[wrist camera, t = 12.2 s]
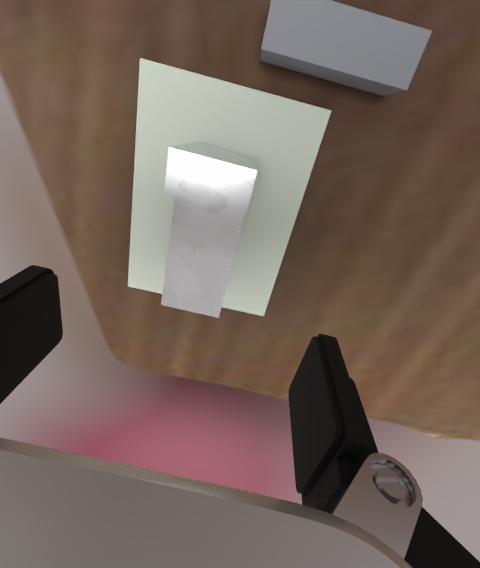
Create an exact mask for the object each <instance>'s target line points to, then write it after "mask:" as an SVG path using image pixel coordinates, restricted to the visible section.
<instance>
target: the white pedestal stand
mask: <svg viewBox="0 0 480 568" xmlns="http://www.w3.org/2000/svg"><path fill="white" fill-rule="evenodd" d="M257 171H258V168H257V157H255V156H251V155H248V154H244V153H240V152H236V151H233V150H229V149H225V148H221V147H218V146H214V145H210V144H206V143H203V142H199V141H198V142H192V143H187V144H182V145H177V146H172V147H169V150H168V159H167V168H166V177H165V186H164V193H166V194H170V195H174V196H175V200H174V207H173V215H172V223H171V231H170V238H169V246H168V254H167V261H166V269H165V277H164V285H163V292H162V300H161V305H164V306H168V307H173V308H177V309H182V310H186V311H191V312H195V313H199V314H204V315H208V316H213V317H217V318H219V316H220V312H221V308H222V304H223V300H224V296H225V292H226V288H227V284H228V280H229V276H230V272H231V268H232V264H233V260H234V256H235V252H236V248H237V244H238V240H239V236H240V232H241V228H242V224H243V220H244V216H245V214H247V211H248V207H249V203H250V199H251V195H252V191H253V187H254V183H255V179H256V175H257Z"/></svg>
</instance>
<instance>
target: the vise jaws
mask: <svg viewBox="0 0 480 568" xmlns="http://www.w3.org/2000/svg"><path fill="white" fill-rule="evenodd" d="M431 33H432V31H431V30H427V29H424V28H421V27H418V26H414V25H411V24H408V23H404V22H401V21H398V20H394V19H391V18H388V17H384V16H381V15H378V14H375V13H371V12H368V11H365V10H361V9H358V8H355V7H351V6H348V5H345V4H341V3H338V2H335V1H332V0H271V4H270V9H269V14H268V18H267V23H266V28H265V33H264V37H263V42H262V47H261V56H260V61H261V62H265V63H268V64H272V65H275V66H279V67H282V68H286V69H289V70H293V71H297V72H300V73H304V74H307V75H311V76H314V77H318V78H321V79H325V80H328V81H332V82H336V83H339V84H343V85H346V86H350V87H353V88H357V89H360V90H364V91H367V92H371V93H375V94H378V95H382V96H388V95H391V94H395V93H399V92H403V91H407V89H408V87H409V84H410V82H411V80H412V77H413V75H414V73H415V70H416V68H417V65H418V63H419V61H420V58H421V56H422V54H423V51H424V49H425V47H426V44H427V42H428V40H429V37H430V35H431Z"/></svg>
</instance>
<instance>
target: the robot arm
mask: <svg viewBox="0 0 480 568" xmlns="http://www.w3.org/2000/svg"><path fill="white" fill-rule="evenodd" d="M62 335H63V331H62V320H61V309H60V298H59V287H58V278H57V276H56V275H55V274H54V273H53V271H52V270H51V269H48V268H43V267H40V266H34V265H32V266H29V267H28V268H26V269H24V270H23V271H21V272H19V273H17V274H16V275H14V276H13V277H11V278H9V279H7V280H6V281H4V282H2V283H0V404H1V403H2V402H3V400H4V399H5V398H6V397H7V396H8V395H9V394H10V393H11V392H12V391H13V390H14V389H15V388H16V387H17V386H18V385H19V384H20V383H21V382H22V381H23V380H24V378H25V377H27V376H28V374H29V373H30V372H31V371H32V370H33V369H34V368H35V367H36V366H37V365H38V364H39V363H40V362H41V361H42V360H43V359H44V358H45V357H46V356H47V355H48V354H49V353H50V352H51V350H52V349H53V348H54V347H55V346H56V345H57V344H58V343H59V342H60V340H61V338H62ZM289 407H290V419H291V430H292V443H293V456H294V468H295V481H296V490H297V492H298V493H301V494H302V504H303V505H300V504H298V503H294V502H290V501H285V500H281V499H277V498H273V497H268V496H264V495H260V494H256V493H252V492H248V491H244V490H239V489H235V488H230V487H226V486H221V485H217V484H212V483H208V482H203V481H199V480H194V479H190V478H185V477H181V476H176V475H172V474H167V473H163V472H158V471H154V470H148V469H144V468H140V467H135V466H130V465H125V464H121V463H117V462H112V461H107V460H103V459H98V458H93V457H89V456H84V455H80V454H75V453H70V452H65V451H61V450H56V449H51V448H47V447H42V446H37V445H33V444H28V443H23V442H18V441H13V440H9V439H4V438H0V568H480V562H479V561H478V560H477V559H476V558H475V557H474V556H473V555H472V554H471V553H470V552H469V551H467V550H466V549H465V548H464V547H463V546H462V545H461V544H460V543H459V542H458V541H457V540H456V539H455V538H454V537H453V536H452V535H451V534H450V533H449V532H448V531H447V530H446V529H444V528H443V527H442V526H441V525H440V524H439V523H438V522H437V521H436V520H435V519H434V518H433V517H432V516H431V515H430V514H429V513H428V512H427V511H426V510H425V509H424V508H423V507H422V500H423V499H422V494H421V490H420V488H419V486H418V484H417V482H416V480H415V479H414V477H413V476H412V474H411V473H410V472H409V470H408V469H407V468H406V467H405V466H404V465H403V464H402V463H400V462H399V461H397V460H396V459H395V458H393V457H391V456H389V455H386V454H382V453H378V450H377V447H376V444H375V441H374V438H373V435H372V433H371V429H370V427H369V424H368V421H367V418H366V415H365V412H364V409H363V406H362V403H361V400H360V397H359V394H358V391H357V388H356V386H355V383H354V381H353V380H352V379H351V378H349V375H348V372H347V369H346V366H345V363H344V360H343V357H342V354H341V350H340V347H339V344H338V341H337V339H336V338H335V337H332V336H328V335H324V334H319V335H318V336H317V337H315V336H314V337H313V338H312V339H311V341H310V344H309V346H308V348H307V350H306V352H305V355H304V357H303V359H302V361H301V363H300V365H299V368H298V370H297V372H296V374H295V376H294V379H293V381H292V383H291V385H290V388H289Z"/></svg>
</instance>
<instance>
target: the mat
mask: <svg viewBox="0 0 480 568" xmlns="http://www.w3.org/2000/svg"><path fill="white" fill-rule="evenodd" d="M330 114H331V110H328V109H324V108H320V107H317V106H313V105H309V104H306V103H302V102H299V101H295V100H291V99H288V98H284V97H280V96H277V95H273V94H269V93H266V92H262V91H259V90H255V89H251V88H248V87H244V86H240V85H237V84H233V83H229V82H226V81H222V80H219V79H215V78H211V77H208V76H204V75H200V74H197V73H193V72H190V71H186V70H182V69H179V68H175V67H171V66H168V65H164V64H160V63H157V62H153V61H150V60H146V59H142V58H140V68H139V87H138V106H137V124H136V143H135V162H134V180H133V199H132V217H131V236H130V255H129V273H128V287H133V288H138V289H142V290H147V291H151V292H156V293H160V294H162V292H163V285H164V277H165V269H166V261H167V254H168V246H169V238H170V231H171V223H172V215H173V207H174V200H175V196H174V195H170V194H166V193H164V186H165V177H166V168H167V159H168V150H169V147H172V146H177V145H182V144H187V143H192V142H198V141H199V142H203V143H206V144H210V145H214V146H218V147H221V148H225V149H229V150H233V151H236V152H240V153H244V154H248V155H251V156H255V157H257V168H258V171H257V175H256V179H255V183H254V187H253V191H252V195H251V199H250V203H249V207H248V211H247V214H245V216H244V220H243V224H242V228H241V232H240V236H239V240H238V244H237V248H236V252H235V256H234V260H233V264H232V268H231V272H230V276H229V280H228V284H227V288H226V292H225V296H224V300H223V304H222V307H224V308H228V309H233V310H237V311H242V312H246V313H251V314H255V315H260V316H264V314H265V311H266V308H267V305H268V302H269V299H270V296H271V293H272V290H273V286H274V283H275V280H276V277H277V274H278V271H279V268H280V265H281V262H282V259H283V256H284V253H285V250H286V247H287V244H288V241H289V238H290V235H291V232H292V229H293V226H294V223H295V220H296V217H297V214H298V211H299V208H300V205H301V202H302V199H303V196H304V193H305V189H306V186H307V183H308V180H309V177H310V174H311V171H312V168H313V165H314V162H315V159H316V156H317V153H318V150H319V147H320V144H321V141H322V138H323V135H324V132H325V129H326V126H327V123H328V120H329V117H330Z"/></svg>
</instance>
